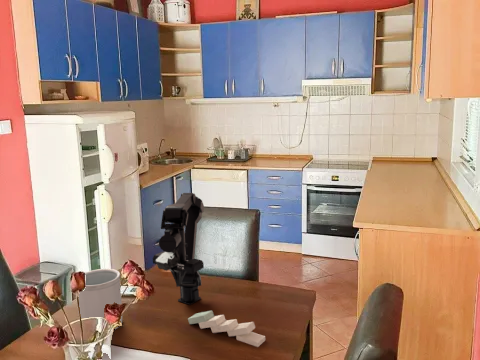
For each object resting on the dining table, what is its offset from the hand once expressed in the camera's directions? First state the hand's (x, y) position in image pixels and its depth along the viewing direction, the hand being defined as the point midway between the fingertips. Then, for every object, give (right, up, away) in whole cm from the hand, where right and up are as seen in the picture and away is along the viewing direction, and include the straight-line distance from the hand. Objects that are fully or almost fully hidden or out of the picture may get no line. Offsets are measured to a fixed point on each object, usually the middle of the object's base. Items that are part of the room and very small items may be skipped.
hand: (178, 285), depth 151 cm
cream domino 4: (+21, -13, -11) cm, 28 cm away
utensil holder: (-26, -13, -1) cm, 30 cm away
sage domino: (+5, -11, -1) cm, 12 cm away
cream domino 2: (+13, -12, -7) cm, 19 cm away
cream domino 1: (+9, -12, -4) cm, 15 cm away
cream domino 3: (+18, -12, -10) cm, 24 cm away
